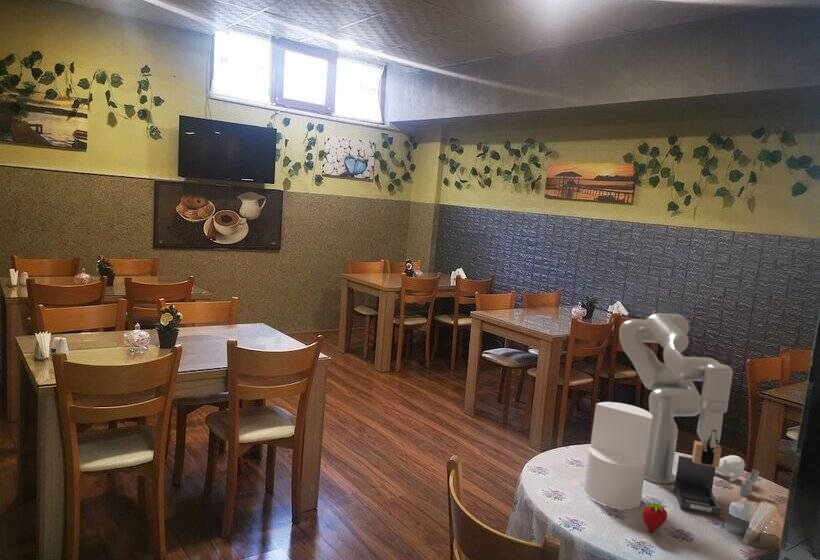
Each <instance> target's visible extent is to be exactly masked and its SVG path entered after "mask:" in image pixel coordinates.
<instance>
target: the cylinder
mask: <svg viewBox="0 0 820 560" xmlns="http://www.w3.org/2000/svg"><path fill="white" fill-rule="evenodd" d="M652 419H653V416H652V414H650V413H649V411H648V410H646V409H645V408H641V407H639V406H636V405H632V404H627V403H622V402H612V401H603V402H598V403H595V407H594V416H593V424H592V431H591V437H590V439H591V440H590V445H589V448H588V452H587V461H586V468H585V475H584V484H583V491H584V490H585V492H586V493H587V494H588V495H589V496H590V497H591V498H593V499H595V500H596V501H598V502H600V503H603V504H605V505H607V506H611V507H615V508H621V509H620V510H624V509H627V510H633V508H634V509H636V508H638V507H639V505H641V502H642V501H641V500H642V494H643V489H644V488H643V487H644V481H645V479H644V475H645V468H646V461H647V454H648V447H649V440H650V433H651V426H652ZM615 508H614V509H615Z"/></svg>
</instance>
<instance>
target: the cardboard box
mask: <svg viewBox="0 0 820 560" xmlns="http://www.w3.org/2000/svg"><path fill="white" fill-rule="evenodd" d="M704 445H705V442H701V440H700V441H699V440H694V442H693V448H692V454H691V458H692V460H693V462H694V463H696V464H702V465H707V466H713V467H719V462H720V459H721V455H722V447H721V445H720V444H719V443H718V444H716V447H715V452H714V459H713V464H712V465H708V464H703V463H701V458H702V452H703V450H704ZM708 445H710V444H707V446H708Z"/></svg>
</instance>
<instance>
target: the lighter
mask: <svg viewBox="0 0 820 560" xmlns="http://www.w3.org/2000/svg"><path fill="white" fill-rule="evenodd" d="M759 475H760V471H758V470H757V469H752V471H751V473H750V475H749V478H745V479H744V481H742V482H741V485H740V491H739V495H740V496H742V497H745V496H746V497H748V496H747V495H749V494H751V495H752V491H753V486H754V484H756V482H757V480H758V477H759ZM749 496H750V495H749Z"/></svg>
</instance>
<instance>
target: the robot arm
mask: <svg viewBox="0 0 820 560" xmlns="http://www.w3.org/2000/svg"><path fill="white" fill-rule="evenodd" d="M689 332H690V323H689V322H688V320H687V319H686V317H685V316H683V315H682V314H678V313H664V312H656V313H652V314H651V315H649V316H648V317H646V319H640V318H639V319H638V318H634V319H628V320H625V321H623V322H622V323H621V325H620V327H619V331H618V339H619V343H620V345H621V348H622V350H623V352H624V353H625V354H626V356H627V357H628V358H629V360H630V361H631V363H632V365H633V367H634V369H635V370H636V373H637V374H638V376H639V378H640V380H641V383H642V384H643V385H644V387H645V388H646V389H648V390H649V391H651V392H650V393H649V396H648V409H649V411H648V412H649V413H650V414H652V416H653V419H652V426H651V433H650V440H649V447H648V454H647V461H646V468H645V475H644V480H646V481H649V482H651V483H655V484H661V485H672V484H675V480H676V475H675V474H674V473H673V467H674V461H675V455H676V454H675V453H676V449H677V448H676V447H677V441H678V435H679V434H678V433H679V429H678V424H677V423H676V422H675V419H674V418H675V417H695V416H697V415H699V417H698V422H697V427H696V434H697V435H698V437H699V440H700V442H705V445H704V450H703V452H702V458H701V463H703V464H708V465H712V464H713V459H714V452H715V447H716V444H718V445H719V443H720V441H721V436H722V429H723V420H724V413H727V412H728V406H729V401H730V400H729V399H730V394H731V387H732V380H733V375H734V374H733V372H734V370H733V369H732V367H731V366H729V365H726V364H723V363H721V362H719V361H718V360H716V359H715V358H712V357H704V356H703V357H700V356H685V355H683V354H682V353H683V352H684V351H685V350H686V348H688V346H689V337H688V333H689ZM645 343H648V344H649V343H651V344H652V343H653V344H659V345H660V346H661V347H662V348H663V352H662V356H663V361H664V363H663V362H661V361H660V360H659V358H658V357H657V355H656V354H655V352H654V351H653V350H652V349H651V348H650V347H649V346H648V345H646V344H645ZM694 382H703V383H702V389H701V394H700V392H699V390H698V388H697V387H696V385H695V384H694ZM707 444H710V445H708V446H707Z"/></svg>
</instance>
